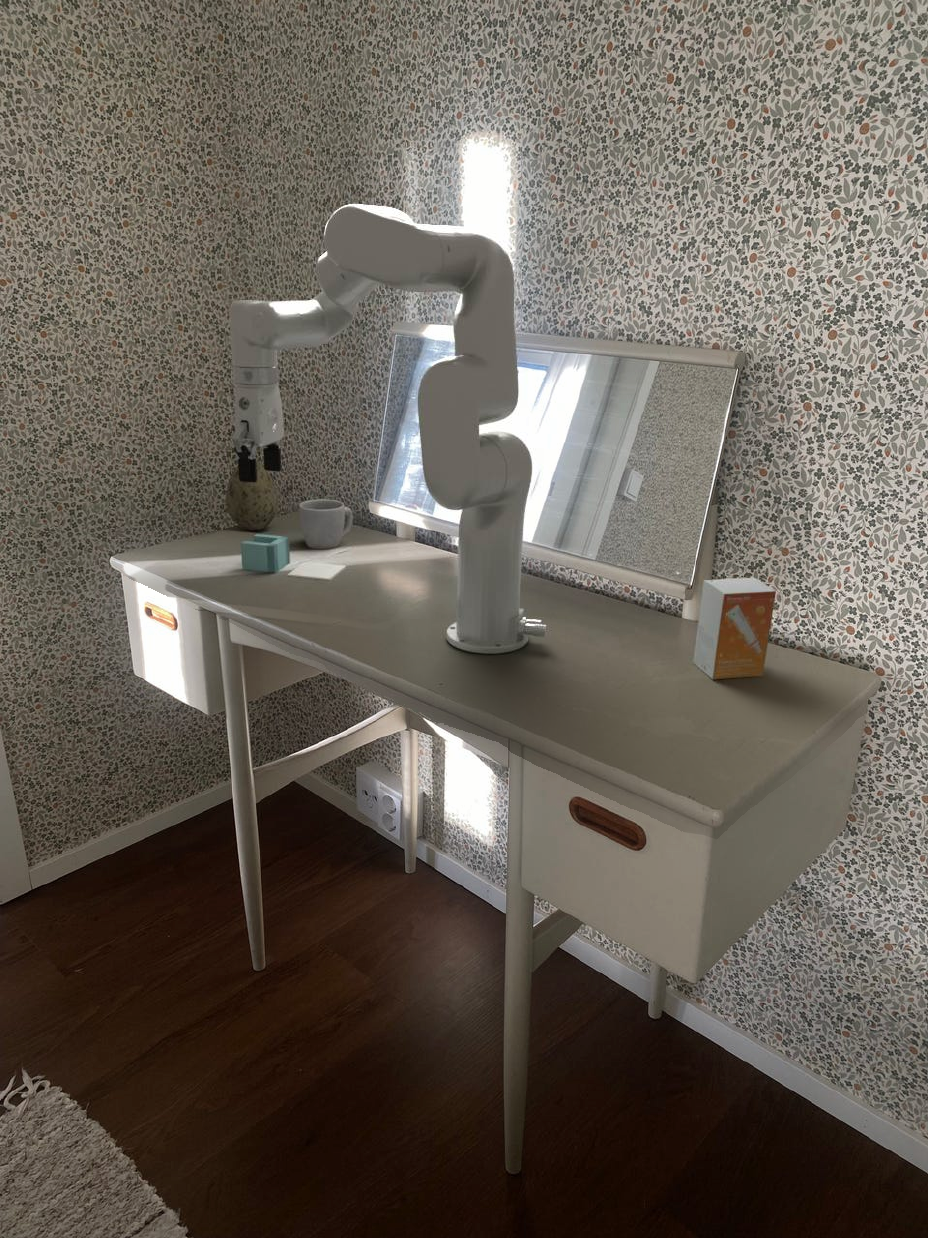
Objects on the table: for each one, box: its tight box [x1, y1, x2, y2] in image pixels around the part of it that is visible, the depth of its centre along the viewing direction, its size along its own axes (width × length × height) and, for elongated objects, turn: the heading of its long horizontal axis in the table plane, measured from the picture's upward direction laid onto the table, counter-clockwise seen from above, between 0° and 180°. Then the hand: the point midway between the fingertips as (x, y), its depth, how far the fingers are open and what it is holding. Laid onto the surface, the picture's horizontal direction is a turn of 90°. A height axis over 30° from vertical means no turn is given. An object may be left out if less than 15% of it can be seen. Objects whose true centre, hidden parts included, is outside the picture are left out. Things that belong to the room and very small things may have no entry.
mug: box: [298, 498, 354, 550], centre depth 184 cm, size 12×9×10 cm
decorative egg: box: [225, 461, 279, 532], centre depth 196 cm, size 11×11×15 cm
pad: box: [287, 561, 347, 582], centre depth 168 cm, size 8×8×1 cm
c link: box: [240, 533, 291, 574], centre depth 169 cm, size 6×6×5 cm
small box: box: [693, 577, 777, 681], centre depth 132 cm, size 8×6×13 cm
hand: (260, 475), depth 164 cm, fingers open, 9 cm apart
